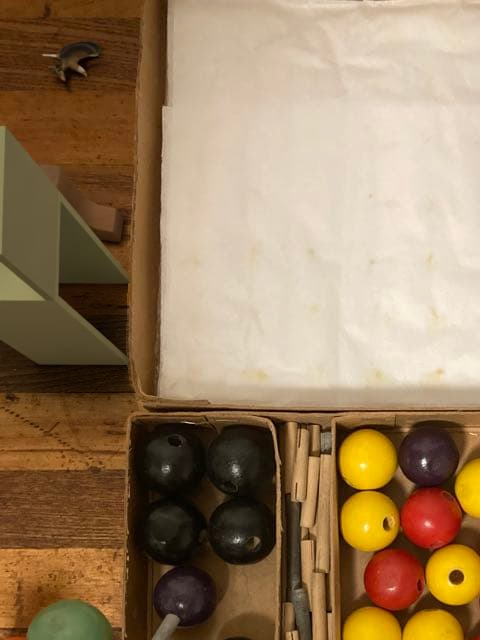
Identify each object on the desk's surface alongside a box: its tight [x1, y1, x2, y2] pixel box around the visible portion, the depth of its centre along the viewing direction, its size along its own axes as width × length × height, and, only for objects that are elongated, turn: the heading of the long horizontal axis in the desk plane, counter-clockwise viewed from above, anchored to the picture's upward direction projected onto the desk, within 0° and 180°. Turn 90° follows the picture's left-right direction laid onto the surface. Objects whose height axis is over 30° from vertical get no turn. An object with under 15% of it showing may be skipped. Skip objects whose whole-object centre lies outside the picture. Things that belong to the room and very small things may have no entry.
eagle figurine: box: [41, 40, 101, 82], centre depth 150 cm, size 8×7×9 cm
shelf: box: [0, 125, 131, 366], centre depth 126 cm, size 16×16×49 cm
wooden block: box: [36, 162, 125, 243], centre depth 142 cm, size 9×4×18 cm, turn 83°
